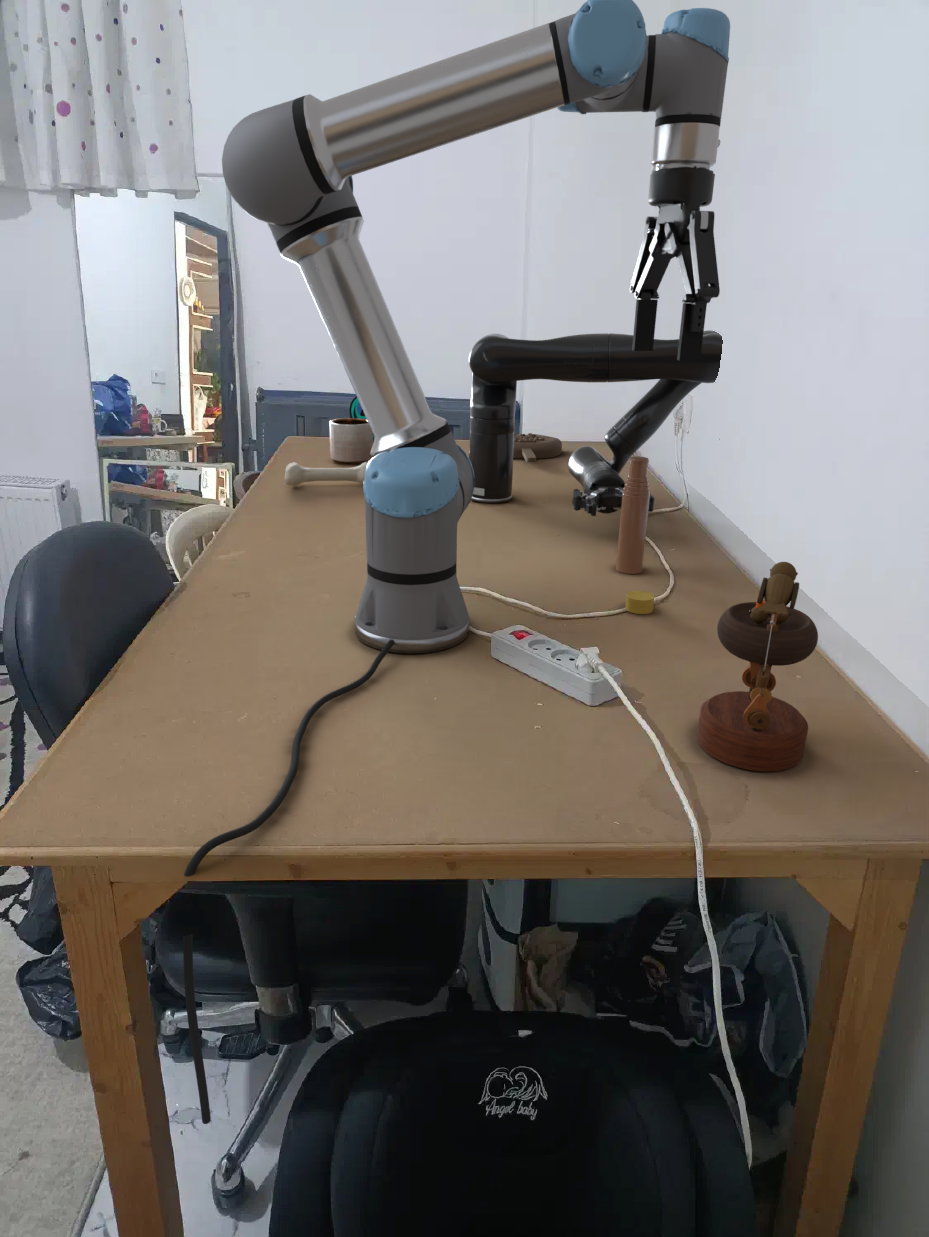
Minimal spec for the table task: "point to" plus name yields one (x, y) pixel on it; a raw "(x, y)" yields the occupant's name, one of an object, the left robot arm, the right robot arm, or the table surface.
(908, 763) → the table surface
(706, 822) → the table surface
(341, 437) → the planter
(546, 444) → the ice cream bar
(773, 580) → the music box
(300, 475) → the dog toy
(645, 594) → the cap
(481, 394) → the right robot arm
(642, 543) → the bottle
